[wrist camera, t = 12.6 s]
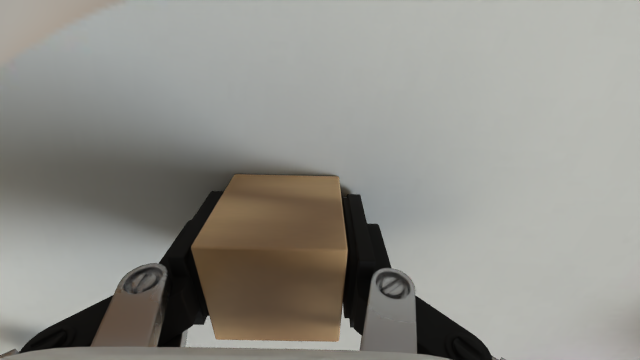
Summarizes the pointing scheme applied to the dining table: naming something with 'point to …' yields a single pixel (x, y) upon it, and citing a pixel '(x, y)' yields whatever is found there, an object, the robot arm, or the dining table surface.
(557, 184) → the dining table surface
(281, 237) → the block
